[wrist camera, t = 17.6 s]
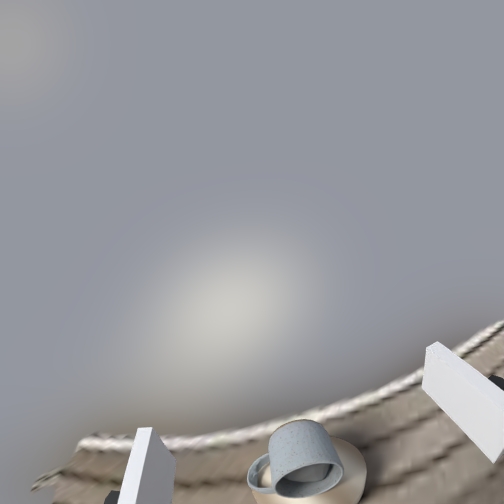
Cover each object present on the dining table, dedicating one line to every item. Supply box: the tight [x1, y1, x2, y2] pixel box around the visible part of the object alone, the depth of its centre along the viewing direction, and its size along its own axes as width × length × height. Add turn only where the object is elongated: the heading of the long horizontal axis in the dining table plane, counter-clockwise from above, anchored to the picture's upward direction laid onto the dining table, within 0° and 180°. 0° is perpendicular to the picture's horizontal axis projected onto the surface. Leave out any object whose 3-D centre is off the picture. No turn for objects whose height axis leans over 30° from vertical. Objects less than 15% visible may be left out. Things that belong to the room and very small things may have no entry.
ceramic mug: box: [247, 419, 344, 499], centre depth 24 cm, size 11×8×8 cm
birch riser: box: [252, 436, 367, 504], centre depth 25 cm, size 14×14×4 cm
